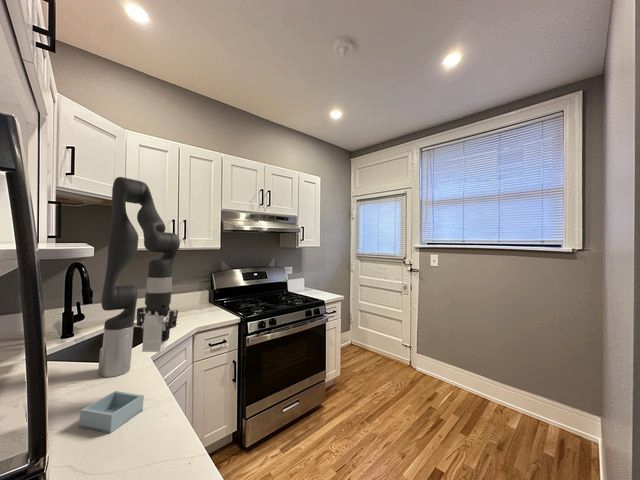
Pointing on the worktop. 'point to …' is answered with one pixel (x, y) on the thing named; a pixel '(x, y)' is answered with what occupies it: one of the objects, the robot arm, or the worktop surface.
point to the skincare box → (153, 334)
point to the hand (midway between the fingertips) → (155, 339)
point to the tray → (111, 411)
